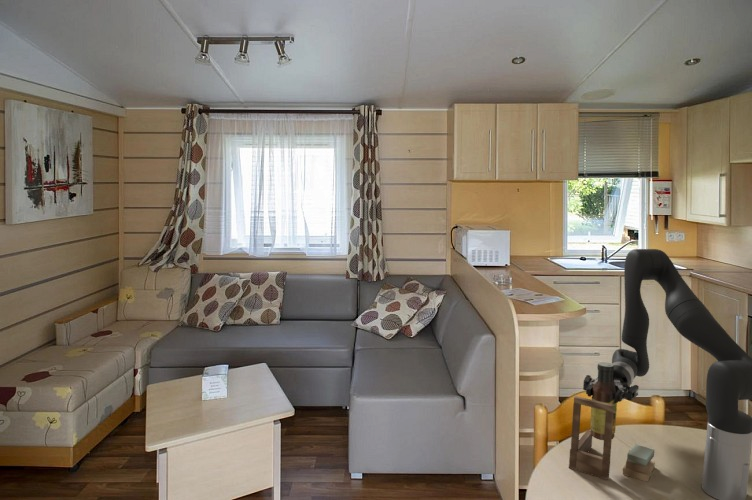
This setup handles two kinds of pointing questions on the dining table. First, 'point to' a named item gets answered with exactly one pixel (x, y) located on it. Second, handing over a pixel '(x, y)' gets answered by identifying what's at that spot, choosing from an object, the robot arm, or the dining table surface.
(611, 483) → the dining table surface
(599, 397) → the sauce bottle
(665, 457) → the dining table surface
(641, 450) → the offcut stack
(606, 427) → the walnut rack
